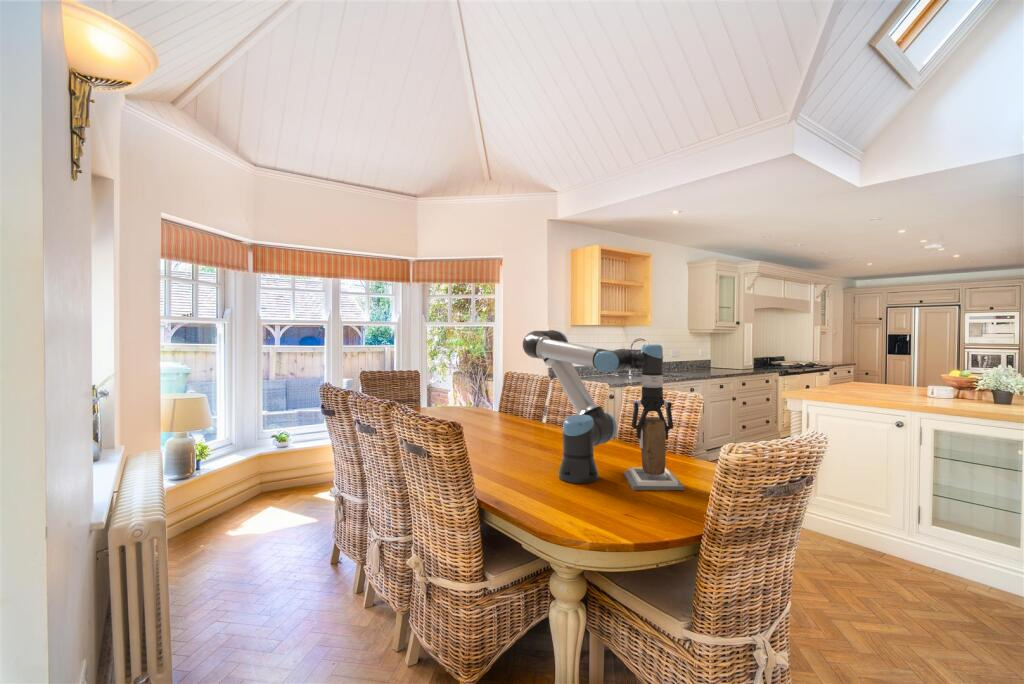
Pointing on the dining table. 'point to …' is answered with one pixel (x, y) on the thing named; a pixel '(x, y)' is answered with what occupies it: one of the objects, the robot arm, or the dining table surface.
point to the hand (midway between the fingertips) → (652, 447)
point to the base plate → (652, 480)
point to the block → (653, 446)
